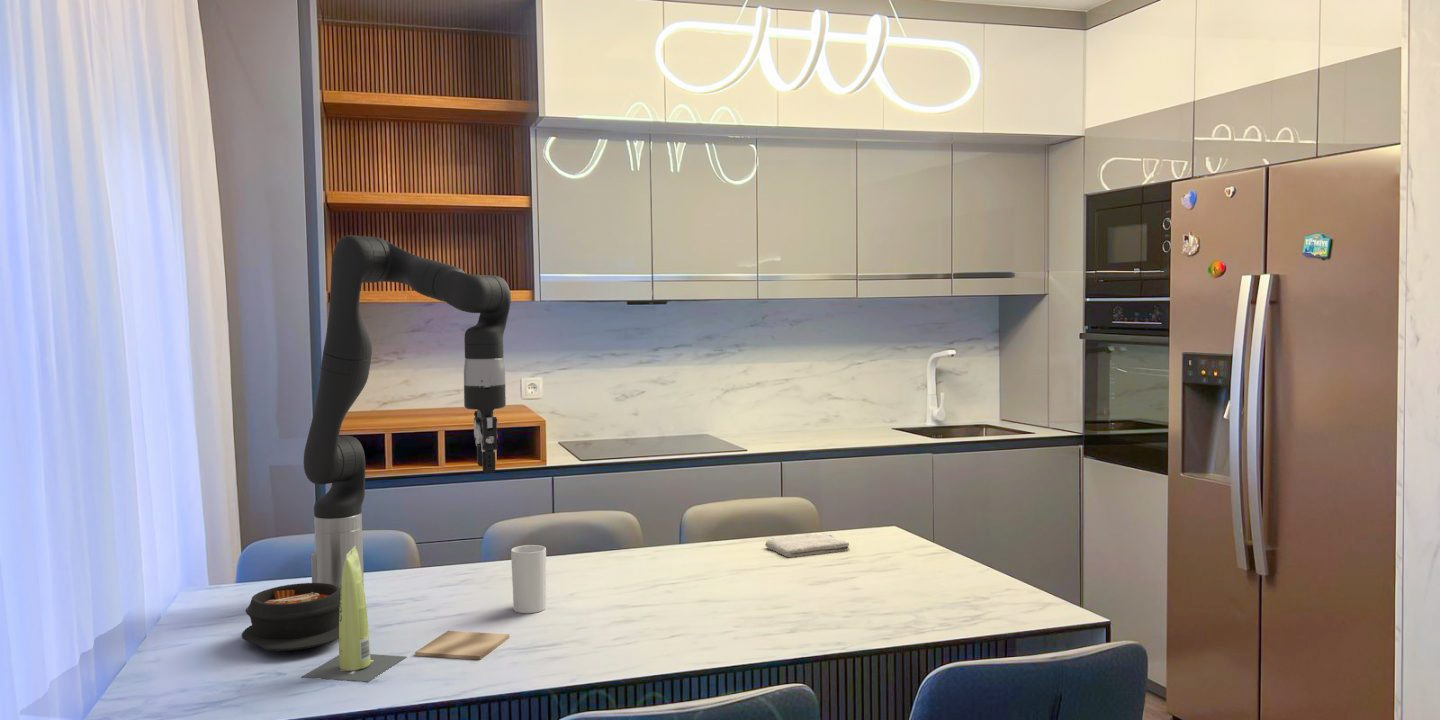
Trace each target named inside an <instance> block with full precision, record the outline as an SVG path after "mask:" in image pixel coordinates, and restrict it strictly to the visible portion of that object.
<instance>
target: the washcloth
mask: <svg viewBox="0 0 1440 720" xmlns="http://www.w3.org/2000/svg"><path fill="white" fill-rule="evenodd" d="M849 546H850V542H849V541H846V540H843V539H839V538H837V537H835V536H833V535H831V534H828V533H821V534H820V533H819V534H818V533H817V534H813V533H803V534H800V535H799V534H798V535H786V536H781V537H774V538H770V539H768V540H766V542H765V547H766V548H767V549H768V550H770V549H771V550H770V551H772V550H773V551H772V552H775V551H776V552H775V553H777V552H778V554H779V553H780V554H779V555H781V554H782V555H781V556H783V555H784V557H785V556H787V557H786V558H788V557H792V558H796V557H795V556H799V557H804V556H803V555H808V556H812V555H811V554H817V555H822V553H823V554H830V553H829V552H831V553H837V552H838V551H840V552H847V551H848V550H849V551H850V547H849ZM849 551H848V552H849ZM820 553H821V554H820Z"/></svg>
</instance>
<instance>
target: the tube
mask: <svg viewBox="0 0 1440 720" xmlns="http://www.w3.org/2000/svg"><path fill="white" fill-rule="evenodd" d="M363 578H364V577H363ZM363 578H362V571H361V565H360V560H359V556H358V553H357V550H356V546H354V548H353V549H352V550H351V551H350V552H349V553H347V554H346V559H345V562H344V566H343V573H342V582H341V593H340V612H339V637H338V655H339V667H340V669H342V670H346V671H353V670H359V669H363V668H365V667H367V666H369V665H370V663H371V658H370V654H371V644H370V633H369V632H370V631H369V629H370V628H369V619H368V618H369V617H368V609H367V601H366V600H367V599H366V593H365V584H363Z"/></svg>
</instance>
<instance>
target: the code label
mask: <svg viewBox="0 0 1440 720" xmlns="http://www.w3.org/2000/svg"><path fill="white" fill-rule="evenodd" d="M370 658H371V663H370V665H369V666H367V667H365V668H363V669H359V670H353V671H346V670H342V669H340V667H339V654H338V655H337V656H335V657H333V658H332V659H331V658H330V660H328V661H326V662H324V663H323V664H321V665H319V666H318V667H316V668H314V669H312V670H310V671H309V672H307V673H304V675H302V676H301V677H300V678H303V679H315V678H321V679H320V680H329V679H335V680H334V681H343V680H347V681H348V682H357V681H362V682H361V683H370V682H372V681H373V680H374V679H376V678H377V677H379V676H381V675H382V674H384V673H385V672H387V671H388V670H390V669H391V668H393V667H395V665H398V664H399V663H400V662H402V661H403V660H405V659H408V656H404V655H389V654H388V655H387V654H374V653H373V654H372V653H370ZM392 666H393V667H392ZM389 668H390V669H389ZM386 670H387V671H386ZM383 672H384V673H383ZM380 674H381V675H380ZM378 675H379V676H378ZM375 677H376V678H375ZM347 681H346V682H347Z"/></svg>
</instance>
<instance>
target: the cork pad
mask: <svg viewBox="0 0 1440 720" xmlns="http://www.w3.org/2000/svg"><path fill="white" fill-rule="evenodd" d="M509 637H511V636H510V634H509V633H494V632H492V633H491V632H477V631H476V632H474V631H463V630H462V631H459V630H447V631H445V632H443V634H442V633H441V635H439V636H438V637H436V638H435V639H432V641H430V642H428V643H427V644H426V645H424V646H422V647H421V648H419V649H418V650H416V651H414V656H416V657H417V656H419V657H435V658H447V659H448V658H449V659H464V660H465V659H466V660H477V661H478V660H479V661H480V660H481V659H482V660H483V658H484V657H486V656H487V655H489V654H490V653H491V652H493V651H494V650H495V649H497V647H499V646H500V645H502V644H503V643H504V642H505V640H506V641H507V640H508V639H510V638H509ZM493 649H494V650H493Z"/></svg>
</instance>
